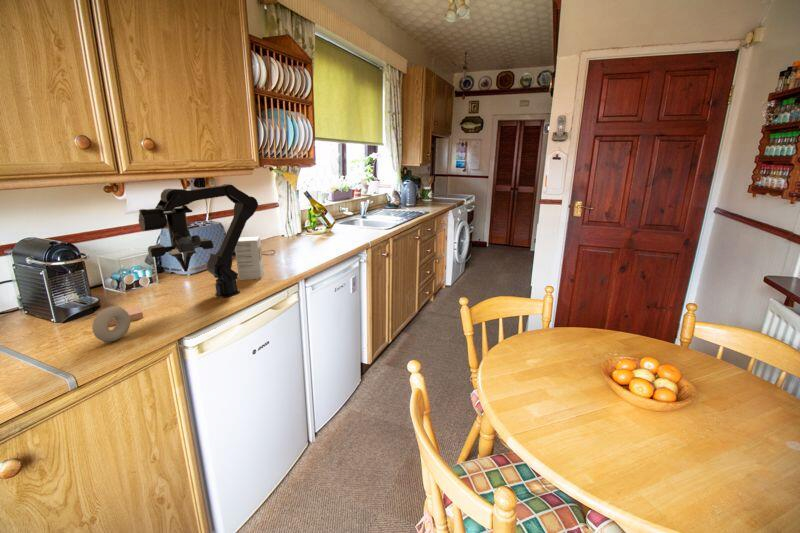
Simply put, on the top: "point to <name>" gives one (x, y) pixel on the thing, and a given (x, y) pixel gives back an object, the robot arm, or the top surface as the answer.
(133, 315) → the terracotta tile
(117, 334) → the donut
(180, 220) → the robot arm
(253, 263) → the supplement box
